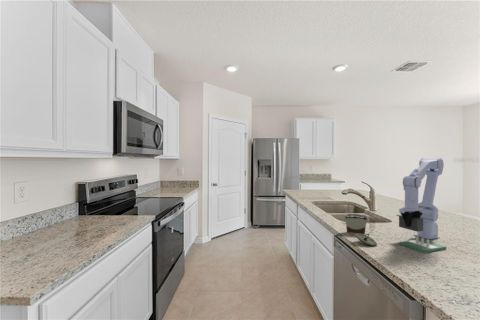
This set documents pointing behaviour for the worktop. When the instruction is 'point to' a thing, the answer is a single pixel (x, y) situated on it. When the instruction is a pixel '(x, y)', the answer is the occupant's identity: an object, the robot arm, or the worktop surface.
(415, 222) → the plug housing
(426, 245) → the header board
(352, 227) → the food container
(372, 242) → the lid
